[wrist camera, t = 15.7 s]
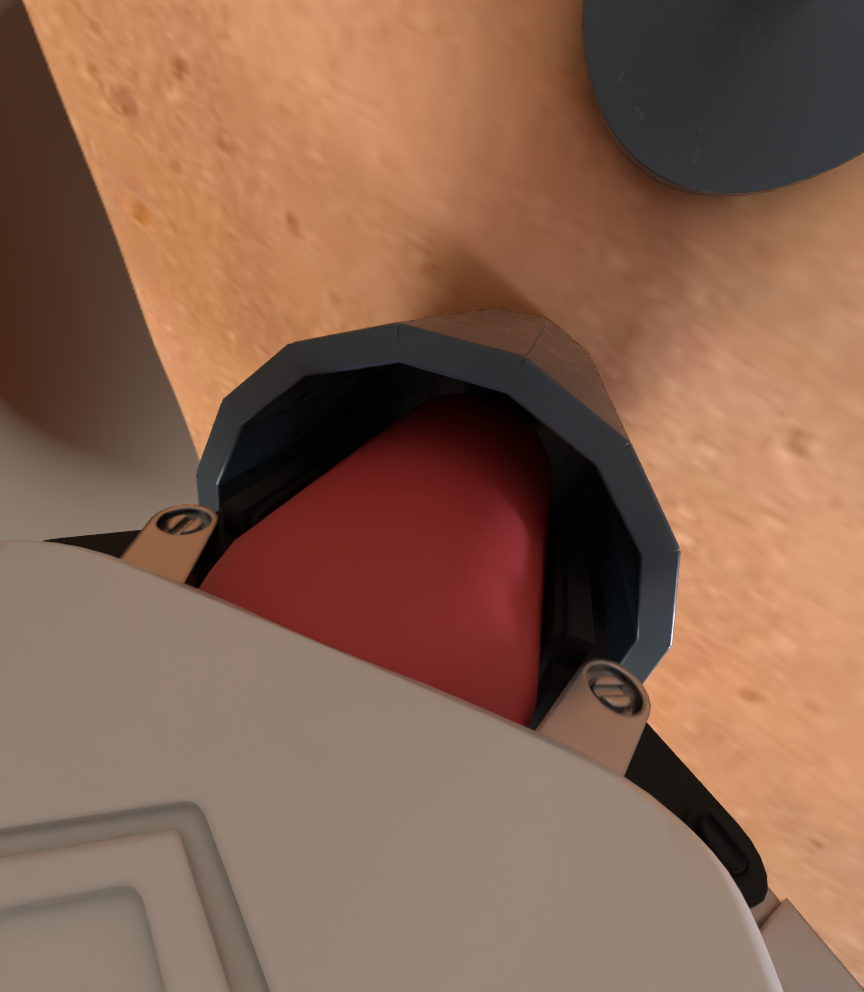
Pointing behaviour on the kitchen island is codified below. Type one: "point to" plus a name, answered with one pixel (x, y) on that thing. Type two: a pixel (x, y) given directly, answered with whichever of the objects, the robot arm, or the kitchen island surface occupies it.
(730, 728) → the kitchen island surface
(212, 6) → the kitchen island surface
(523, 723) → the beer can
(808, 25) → the lid
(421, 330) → the tin
